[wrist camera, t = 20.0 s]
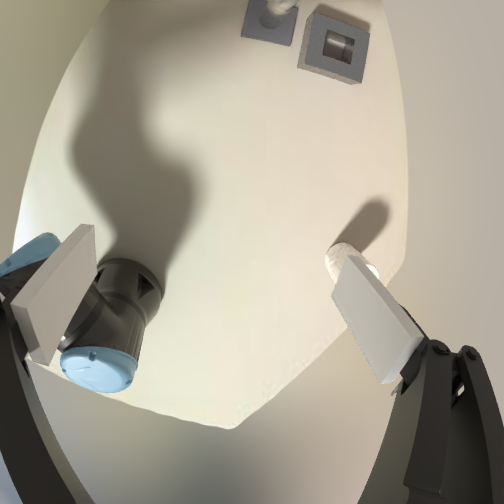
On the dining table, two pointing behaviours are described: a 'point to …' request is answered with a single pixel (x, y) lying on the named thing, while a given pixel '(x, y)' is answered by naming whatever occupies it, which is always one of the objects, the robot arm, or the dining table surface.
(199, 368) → the dining table surface
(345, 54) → the block
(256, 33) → the mat
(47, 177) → the dining table surface
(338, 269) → the white cup
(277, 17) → the grey long rod
